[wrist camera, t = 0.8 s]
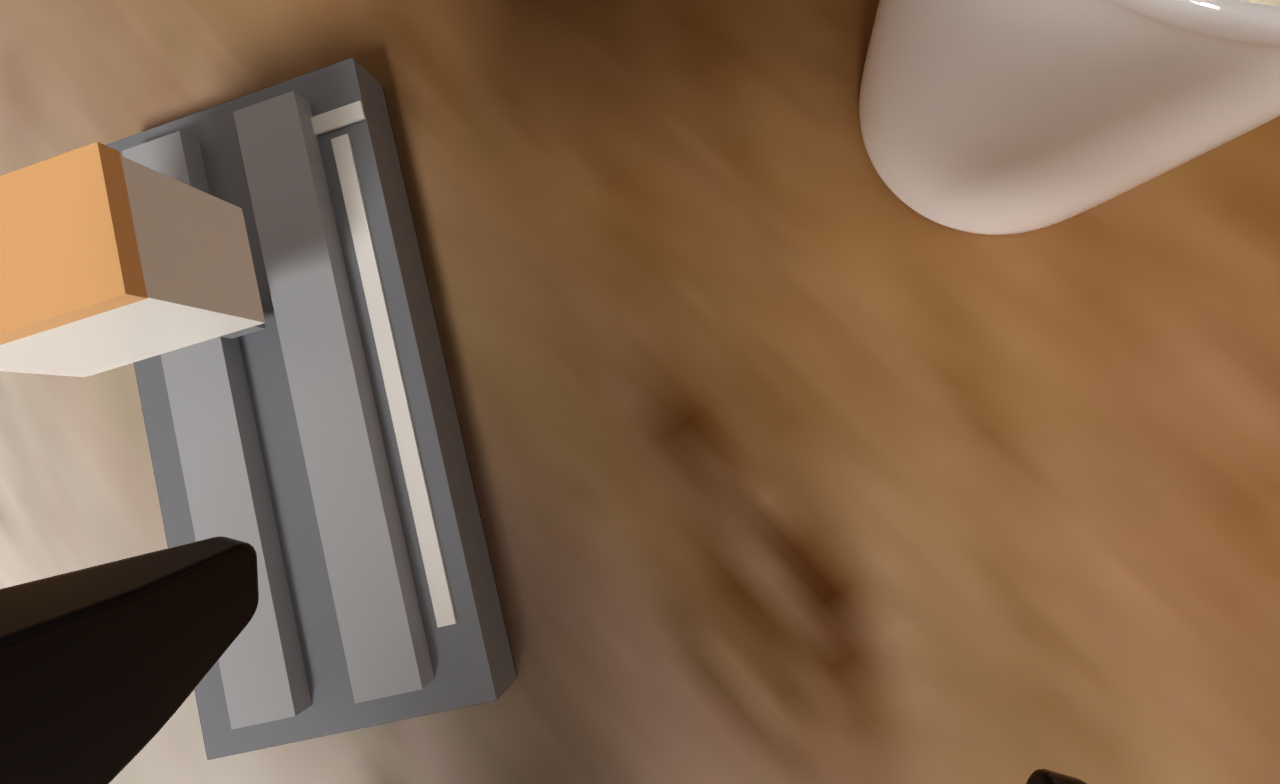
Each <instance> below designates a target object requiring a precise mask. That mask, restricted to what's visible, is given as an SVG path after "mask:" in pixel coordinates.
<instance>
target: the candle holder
mask: <svg viewBox="0 0 1280 784" xmlns="http://www.w3.org/2000/svg"><path fill="white" fill-rule="evenodd" d="M1279 116H1280V0H879V4H878V8H877V13H876V17H875V21H874V25H873V29H872V33H871V38H870V42H869V46H868V51H867V55H866V60H865V64H864V69H863V74H862V80H861V86H860V95H859V120H860V128H861V133H862V138H863V141H864V145H865V148H866V151H867V153H868V156H869V158H870V160H871V162H872V164H873V166H874V168H875V170H876V171H877V173H878V175H879V176H880V178H881V179H882V180H883V182H884V183H885V184H886V186H887V187H888V188H889V189H890V190H891V191H892V192H893V193H894V194H895V195H896V196H897V197H898V198H899V199H900V200H901V201H902V202H903V203H905V204H906V205H907V206H908V207H910V208H911V209H913V210H914V211H916V212H917V213H919V214H920V215H922V216H924V217H926V218H928V219H930V220H932V221H934V222H936V223H938V224H941V225H944V226H946V227H949V228H953V229H956V230H960V231H965V232H970V233H977V234H989V235H1004V234H1016V233H1022V232H1028V231H1033V230H1037V229H1041V228H1044V227H1048V226H1051V225H1054V224H1056V223H1059V222H1062V221H1064V220H1067V219H1069V218H1071V217H1074V216H1076V215H1078V214H1080V213H1083V212H1085V211H1087V210H1089V209H1091V208H1093V207H1096V206H1098V205H1100V204H1102V203H1104V202H1106V201H1108V200H1110V199H1112V198H1114V197H1116V196H1118V195H1121V194H1123V193H1125V192H1127V191H1129V190H1131V189H1133V188H1135V187H1137V186H1139V185H1141V184H1143V183H1145V182H1147V181H1149V180H1151V179H1153V178H1155V177H1157V176H1159V175H1161V174H1164V173H1166V172H1168V171H1170V170H1172V169H1174V168H1176V167H1178V166H1180V165H1182V164H1184V163H1186V162H1188V161H1190V160H1192V159H1194V158H1196V157H1198V156H1200V155H1202V154H1204V153H1206V152H1208V151H1210V150H1212V149H1214V148H1216V147H1218V146H1220V145H1223V144H1225V143H1227V142H1229V141H1231V140H1233V139H1235V138H1237V137H1239V136H1241V135H1243V134H1245V133H1247V132H1249V131H1251V130H1253V129H1255V128H1257V127H1259V126H1261V125H1263V124H1265V123H1267V122H1269V121H1271V120H1273V119H1275V118H1277V117H1279Z"/></svg>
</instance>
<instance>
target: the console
mask: <svg viewBox="0 0 1280 784" xmlns="http://www.w3.org/2000/svg"><path fill="white" fill-rule="evenodd" d="M106 146H108V147H110V148H113V149H115V150H117V151H119V152H120V155H121V156H123V157H125V158H127V159H130V160H132V161H134V162H136V163H139V164H141V165H143V166H146V167H148V168H150V169H153V170H155V171H157V172H159V173H162V174H164V175H166V176H169V177H171V178H173V179H175V180H178V181H180V182H182V183H185V184H187V185H189V186H192V187H194V188H196V189H198V190H201V191H203V192H205V193H208V194H210V195H212V196H214V197H217V198H219V199H221V200H224V201H226V202H228V203H231V204H233V205H235V206H237V207H240V208H242V211H243V216H244V221H245V226H246V231H247V236H248V241H249V246H250V250H251V255H252V260H253V265H254V270H255V275H256V280H257V285H258V290H259V294H260V299H261V304H262V309H263V314H264V319H265V327H266V329H263V330H260V331H256V332H253V333H250V334H246V335H243V336H240V337H236V338H233V339H231V338H225V337H216V338H213V339H210V340H207V341H203V342H200V343H197V344H193V345H190V346H187V347H183V348H180V349H177V350H173V351H170V352H167V353H163V354H160V355H157V356H154V357H150V358H147V359H144V360H140V361H137V362H134V368H135V373H136V379H137V384H138V389H139V395H140V400H141V405H142V411H143V416H144V422H145V427H146V432H147V438H148V443H149V449H150V454H151V459H152V465H153V470H154V475H155V481H156V486H157V492H158V497H159V502H160V508H161V513H162V518H163V524H164V529H165V535H166V540H167V545H168V548H172V547H176V546H180V545H184V544H188V543H192V542H197V541H201V540H205V539H209V538H213V537H218V536H223V537H229V538H232V539H236V540H239V541H243V542H246V543H249V544H250V545H252V546H253V547H254V549H255V551H256V553H257V568H258V591H259V601H258V606H257V609H256V611H255V614H254V615H253V617H252V619H251V620H250V622H249V623H248V624H247V626H246V627H245V628H244V629H243V631H242V632H241V633H240V634H239V635H238V637H237V638H236V639H235V640H234V641H233V643H232V644H231V645H230V646H229V648H228V649H227V650H226V651H225V652H224V654H223V655H222V656H221V657H220V658H219V660H218V661H217V662H216V663H215V665H214V666H213V667H212V668H211V669H210V671H209V672H208V673H207V674H206V675H205V677H204V678H203V679H202V680H201V681H200V683H199V684H198V685H197V686H196V688H195V689H194V691H195V696H196V701H197V707H198V712H199V718H200V723H201V728H202V734H203V739H204V744H205V750H206V755H207V760H210V759H215V758H220V757H225V756H230V755H234V754H239V753H244V752H249V751H254V750H259V749H264V748H268V747H273V746H278V745H283V744H288V743H293V742H297V741H302V740H307V739H312V738H317V737H322V736H327V735H331V734H336V733H341V732H346V731H351V730H356V729H360V728H365V727H370V726H375V725H380V724H385V723H389V722H394V721H399V720H404V719H409V718H414V717H419V716H423V715H428V714H433V713H438V712H443V711H448V710H452V709H457V708H462V707H467V706H472V705H477V704H482V703H486V702H491V701H496V700H498V698H499V697H500V696H501V695H502V694H503V693H504V692H505V690H506V689H507V688H508V687H509V686H510V685H511V683H512V682H513V681H514V680H515V679H516V678H517V677H516V672H515V668H514V664H513V659H512V655H511V650H510V646H509V642H508V637H507V633H506V628H505V624H504V620H503V615H502V611H501V606H500V602H499V598H498V593H497V589H496V584H495V580H494V576H493V571H492V567H491V562H490V558H489V554H488V549H487V545H486V540H485V536H484V532H483V527H482V523H481V519H480V514H479V510H478V505H477V501H476V497H475V492H474V488H473V483H472V479H471V475H470V470H469V466H468V461H467V457H466V453H465V448H464V444H463V439H462V435H461V431H460V426H459V422H458V417H457V413H456V409H455V404H454V400H453V395H452V391H451V387H450V382H449V378H448V373H447V369H446V365H445V360H444V356H443V351H442V347H441V343H440V338H439V334H438V329H437V325H436V321H435V316H434V312H433V307H432V303H431V299H430V294H429V290H428V285H427V281H426V277H425V272H424V268H423V263H422V259H421V255H420V250H419V246H418V241H417V237H416V233H415V228H414V224H413V219H412V215H411V211H410V206H409V202H408V197H407V193H406V189H405V184H404V180H403V175H402V171H401V167H400V162H399V158H398V153H397V149H396V145H395V140H394V136H393V131H392V127H391V123H390V118H389V114H388V110H387V105H386V101H385V96H384V92H383V88H382V85H381V84H380V83H379V82H378V81H377V80H376V79H375V78H374V77H373V76H372V75H371V74H370V73H368V72H367V71H366V70H365V69H364V68H363V67H362V66H361V65H360V64H359V63H358V62H357V61H356V60H355V59H354V58H353V57H352V58H350V59H347V60H344V61H341V62H338V63H335V64H333V65H330V66H327V67H324V68H321V69H319V70H316V71H313V72H310V73H307V74H304V75H302V76H299V77H296V78H293V79H290V80H288V81H285V82H282V83H279V84H276V85H273V86H271V87H268V88H265V89H262V90H259V91H257V92H254V93H251V94H248V95H245V96H242V97H240V98H237V99H234V100H231V101H228V102H225V103H223V104H220V105H217V106H214V107H211V108H209V109H206V110H203V111H200V112H197V113H194V114H192V115H189V116H186V117H183V118H180V119H178V120H175V121H172V122H169V123H166V124H163V125H161V126H158V127H155V128H152V129H149V130H147V131H144V132H141V133H138V134H135V135H132V136H130V137H127V138H124V139H121V140H118V141H116V142H113V143H110V144H107V145H106Z"/></svg>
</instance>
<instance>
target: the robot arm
mask: <svg viewBox="0 0 1280 784" xmlns="http://www.w3.org/2000/svg"><path fill="white" fill-rule="evenodd" d="M258 601H259V591H258V568H257V553H256V551H255V549H254V547H253V546H252V545H250V544H249V543H246V542H243V541H239V540H236V539H232V538H229V537H223V536H218V537H213V538H209V539H205V540H201V541H197V542H192V543H188V544H184V545H180V546H176V547H172V548H168V549H164V550H160V551H155V552H151V553H147V554H143V555H139V556H135V557H131V558H127V559H123V560H119V561H114V562H110V563H106V564H102V565H98V566H94V567H90V568H86V569H82V570H78V571H73V572H69V573H65V574H61V575H57V576H53V577H49V578H45V579H41V580H36V581H32V582H28V583H24V584H20V585H16V586H12V587H8V588H4V589H0V784H109V783H110V782H111V781H112V780H113V779H114V778H115V777H116V776H117V775H118V774H119V773H120V772H121V771H122V769H123V768H124V767H125V766H126V765H127V764H128V763H129V762H130V761H131V760H132V759H133V758H134V757H135V756H136V755H137V754H138V753H139V752H140V751H141V750H142V749H143V748H144V747H145V746H146V744H147V743H148V742H149V741H150V740H151V739H152V738H153V737H154V736H155V735H156V734H157V733H158V732H159V730H160V729H161V728H162V727H163V726H164V725H165V723H166V722H167V721H168V720H169V719H170V718H171V716H172V715H173V714H174V713H175V712H176V711H177V709H178V708H179V707H180V706H181V705H182V703H183V702H184V701H185V700H186V698H187V697H188V696H189V695H190V694H191V692H192V691H193V690H194V689H195V688H196V686H197V685H198V684H199V683H200V681H201V680H202V679H203V678H204V677H205V675H206V674H207V673H208V672H209V671H210V669H211V668H212V667H213V666H214V665H215V663H216V662H217V661H218V660H219V658H220V657H221V656H222V655H223V654H224V652H225V651H226V650H227V649H228V648H229V646H230V645H231V644H232V643H233V641H234V640H235V639H236V638H237V637H238V635H239V634H240V633H241V632H242V631H243V629H244V628H245V627H246V626H247V624H248V623H249V622H250V620H251V619H252V617H253V615H254V614H255V611H256V609H257V606H258ZM1026 784H1086V783H1085V782H1083V781H1082V780H1080V779H1077V778H1074V777H1071V776H1067V775H1064V774H1060V773H1057V772H1053V771H1050V770H1046V769H1038V770H1036V771H1034V772H1033V773H1032V774H1031V776H1030V777H1029V779H1028V781H1027V783H1026Z"/></svg>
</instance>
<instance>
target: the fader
mask: <svg viewBox="0 0 1280 784" xmlns="http://www.w3.org/2000/svg"><path fill="white" fill-rule="evenodd" d="M263 329H266V327H265V319H264V314H263V309H262V304H261V299H260V294H259V290H258V285H257V280H256V275H255V270H254V265H253V260H252V255H251V250H250V246H249V241H248V236H247V231H246V226H245V221H244V216H243V211H242V208H240V207H237V206H235V205H233V204H231V203H228V202H226V201H224V200H221V199H219V198H217V197H214V196H212V195H210V194H208V193H205V192H203V191H201V190H198V189H196V188H194V187H192V186H189V185H187V184H185V183H182V182H180V181H178V180H175V179H173V178H171V177H169V176H166V175H164V174H162V173H159V172H157V171H155V170H153V169H150V168H148V167H146V166H143V165H141V164H139V163H136V162H134V161H132V160H130V159H127V158H125V157H123V156H121V155H120V152H119V151H117V150H115V149H113V148H110V147H108V146H106V145H104V144H101V143H99V142H95V143H92V144H89V145H87V146H84V147H81V148H78V149H75V150H73V151H70V152H67V153H64V154H61V155H59V156H56V157H53V158H50V159H47V160H45V161H42V162H39V163H36V164H33V165H31V166H28V167H25V168H22V169H19V170H16V171H14V172H11V173H8V174H5V175H2V176H0V371H8V372H21V373H35V374H49V375H63V376H77V377H87V376H91V375H94V374H97V373H101V372H104V371H107V370H111V369H114V368H117V367H120V366H124V365H127V364H130V363H134V362H137V361H140V360H144V359H147V358H150V357H154V356H157V355H160V354H163V353H167V352H170V351H173V350H177V349H180V348H183V347H187V346H190V345H193V344H197V343H200V342H203V341H207V340H210V339H213V338H216V337H225V338H231V339H233V338H236V337H240V336H243V335H246V334H250V333H253V332H256V331H260V330H263Z"/></svg>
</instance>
